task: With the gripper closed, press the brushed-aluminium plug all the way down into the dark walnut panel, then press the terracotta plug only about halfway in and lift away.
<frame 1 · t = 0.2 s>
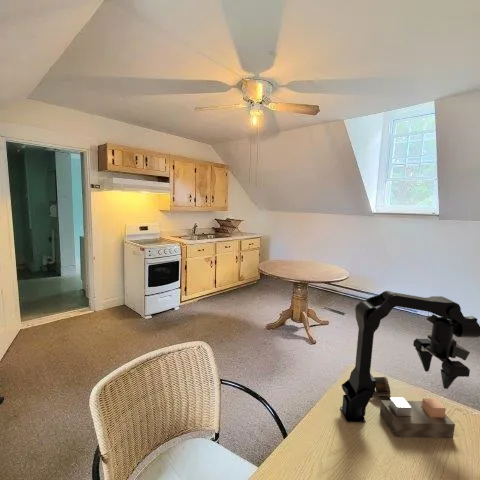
hand: (435, 379, 94), 14 cm above the table, fingers open, 9 cm apart
aluminium plug: (399, 409, 92), point 6 cm above the table, slide at 0.0 cm
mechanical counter: (372, 392, 108), on the table
plug panel: (414, 425, 92), on the table
terracotta plug: (433, 409, 92), point 6 cm above the table, slide at 0.0 cm
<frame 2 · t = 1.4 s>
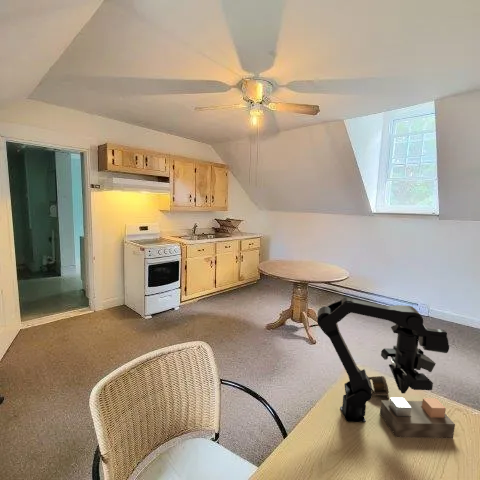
hand: (401, 391, 91), 12 cm above the table, fingers closed
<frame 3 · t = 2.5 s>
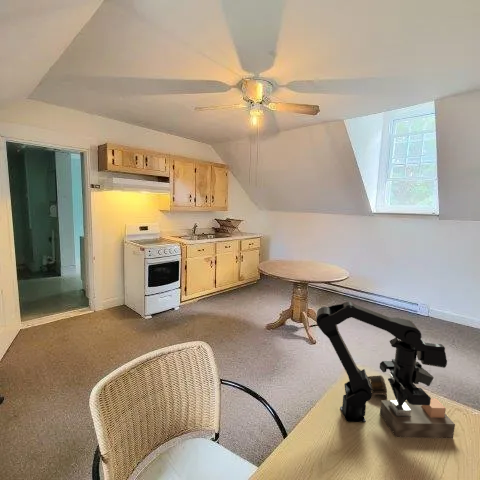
hand: (400, 404, 91), 7 cm above the table, fingers closed, pressing on aluminium plug
aluminium plug: (399, 411, 92), point 5 cm above the table, slide at 0.9 cm, touching gripper
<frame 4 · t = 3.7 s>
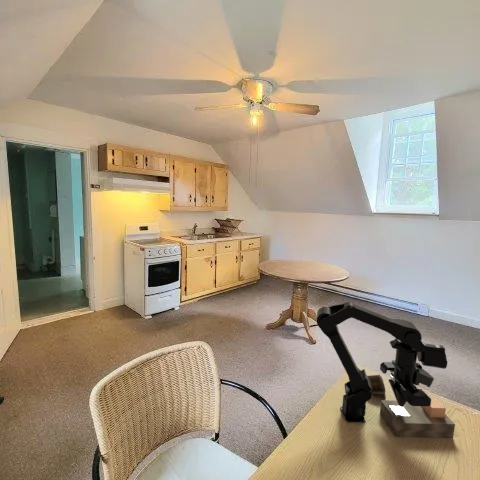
hand: (400, 406, 91), 7 cm above the table, fingers closed
aluminium plug: (398, 417, 92), point 3 cm above the table, slide at 3.1 cm
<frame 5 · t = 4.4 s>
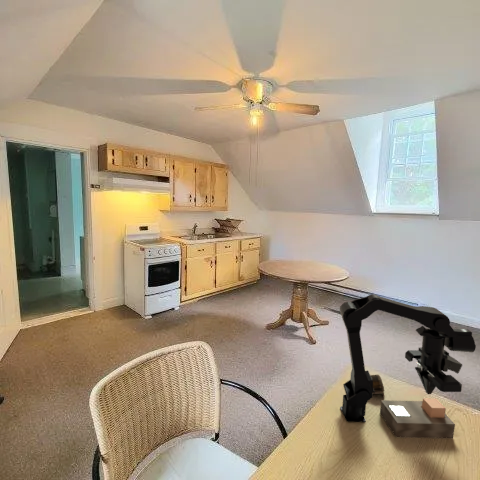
hand: (428, 393, 91), 12 cm above the table, fingers closed
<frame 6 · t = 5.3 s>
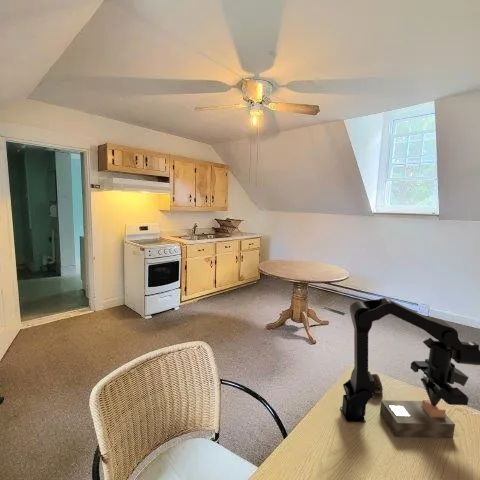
hand: (433, 404, 91), 8 cm above the table, fingers closed, pressing on terracotta plug
terracotta plug: (432, 411, 92), point 5 cm above the table, slide at 0.6 cm, touching gripper
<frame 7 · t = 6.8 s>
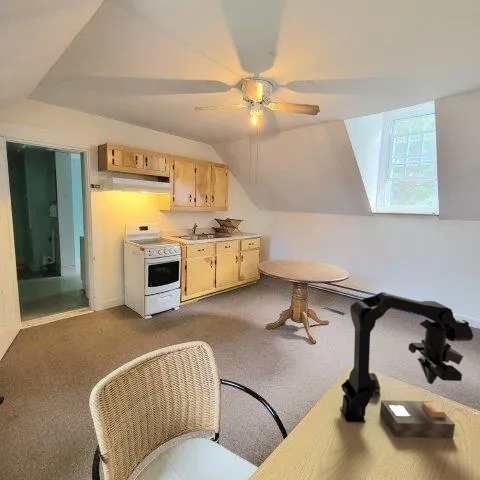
hand: (430, 383, 96), 12 cm above the table, fingers closed
terracotta plug: (432, 413, 92), point 4 cm above the table, slide at 1.4 cm
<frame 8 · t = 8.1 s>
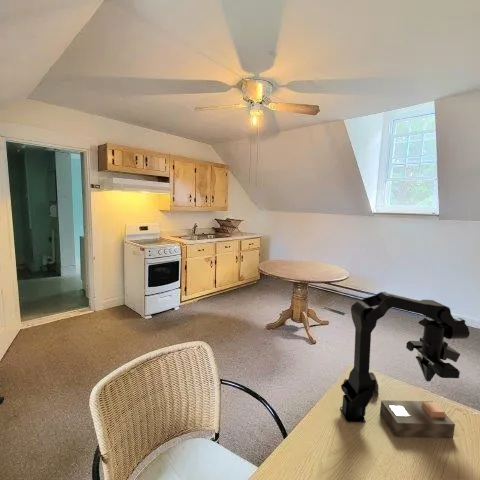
hand: (427, 380, 97), 12 cm above the table, fingers closed
at the end: aluminium plug slide at 3.1 cm; terracotta plug slide at 1.4 cm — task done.
